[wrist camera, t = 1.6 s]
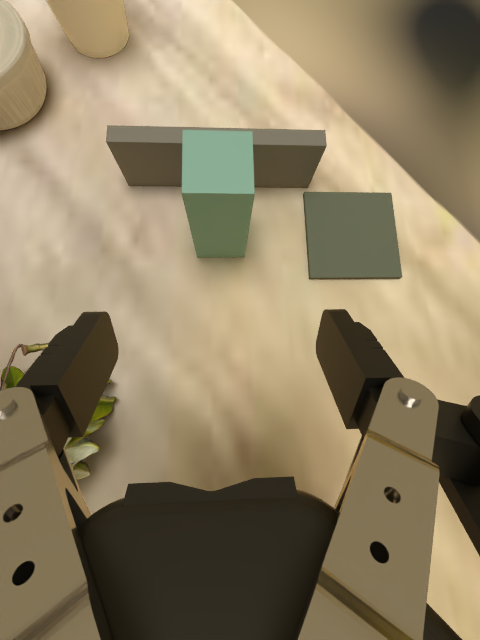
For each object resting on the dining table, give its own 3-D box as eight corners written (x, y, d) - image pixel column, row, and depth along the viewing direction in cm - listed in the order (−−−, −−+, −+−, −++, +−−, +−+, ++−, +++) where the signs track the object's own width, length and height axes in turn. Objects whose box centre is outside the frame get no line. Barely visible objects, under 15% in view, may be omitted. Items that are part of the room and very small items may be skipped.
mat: (309, 278, 28) (310, 277, 27) (303, 194, 29) (304, 191, 29) (399, 278, 28) (402, 277, 28) (388, 195, 30) (391, 192, 29)
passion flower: (87, 457, 29) (-72, 590, 18) (27, 365, 28) (-175, 447, 17) (160, 427, 24) (0, 589, 13) (89, 314, 23) (-142, 386, 12)
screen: (128, 185, 28) (106, 141, 23) (130, 146, 29) (109, 94, 24) (307, 187, 29) (326, 145, 24) (305, 149, 30) (322, 100, 25)
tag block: (197, 257, 27) (181, 192, 18) (197, 211, 28) (182, 125, 18) (244, 257, 28) (254, 193, 18) (242, 211, 29) (252, 127, 19)
